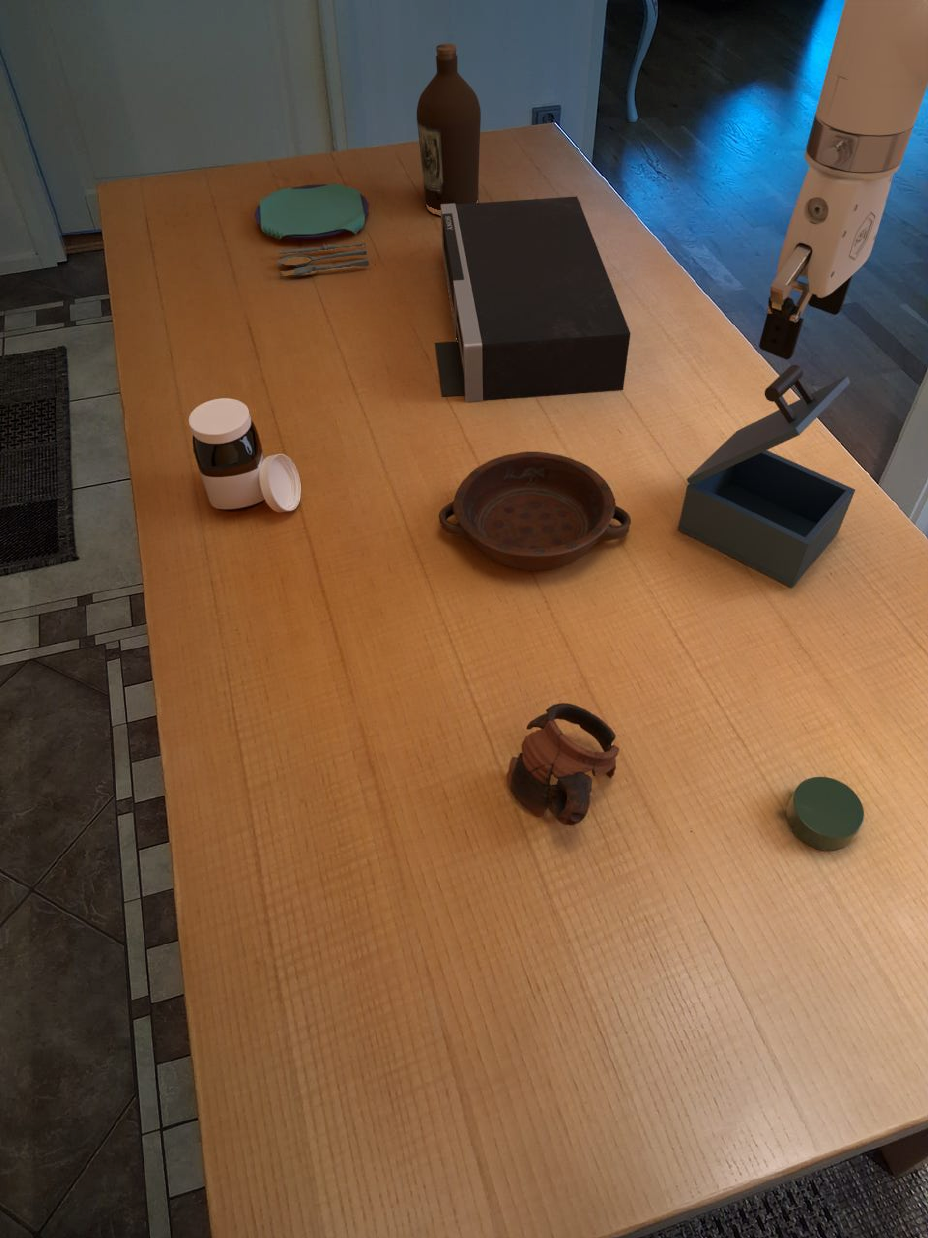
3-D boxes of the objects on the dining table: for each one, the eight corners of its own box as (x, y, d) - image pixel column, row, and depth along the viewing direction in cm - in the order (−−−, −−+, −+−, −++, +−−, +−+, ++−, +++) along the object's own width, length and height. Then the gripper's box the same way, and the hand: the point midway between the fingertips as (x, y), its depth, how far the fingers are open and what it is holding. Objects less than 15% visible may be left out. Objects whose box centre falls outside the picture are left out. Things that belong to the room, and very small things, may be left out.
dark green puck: (846, 790, 82) (854, 776, 80) (863, 851, 78) (872, 838, 76) (780, 789, 82) (786, 775, 80) (793, 850, 78) (801, 837, 76)
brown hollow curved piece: (491, 751, 86) (527, 686, 82) (576, 770, 89) (614, 708, 86) (516, 847, 76) (559, 778, 73) (611, 864, 80) (656, 799, 76)
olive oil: (461, 187, 164) (457, 30, 145) (493, 208, 158) (493, 48, 139) (411, 202, 161) (400, 43, 142) (441, 225, 155) (434, 63, 136)
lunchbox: (837, 533, 104) (855, 489, 98) (791, 588, 98) (808, 544, 93) (726, 481, 110) (737, 436, 105) (677, 529, 105) (687, 485, 100)
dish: (443, 481, 111) (441, 449, 107) (621, 481, 110) (626, 449, 107) (435, 584, 100) (433, 553, 96) (634, 586, 99) (640, 554, 95)
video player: (623, 390, 123) (630, 333, 116) (442, 404, 122) (439, 347, 115) (572, 247, 149) (576, 194, 142) (423, 258, 147) (420, 204, 141)
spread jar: (206, 473, 113) (182, 395, 104) (295, 457, 115) (279, 380, 106) (213, 537, 106) (187, 459, 97) (308, 519, 107) (291, 441, 98)
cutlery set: (364, 189, 164) (363, 176, 163) (382, 270, 145) (381, 257, 143) (255, 200, 163) (253, 187, 161) (258, 284, 143) (255, 270, 142)
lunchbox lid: (851, 381, 91) (825, 340, 90) (799, 435, 86) (771, 391, 85) (740, 436, 105) (716, 401, 104) (689, 485, 99) (664, 448, 98)
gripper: (853, 192, 67) (792, 386, 80) (944, 119, 75) (876, 306, 88) (762, 165, 70) (718, 356, 83) (860, 98, 78) (805, 281, 91)
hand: (799, 330), depth 85 cm, fingers open, 9 cm apart
